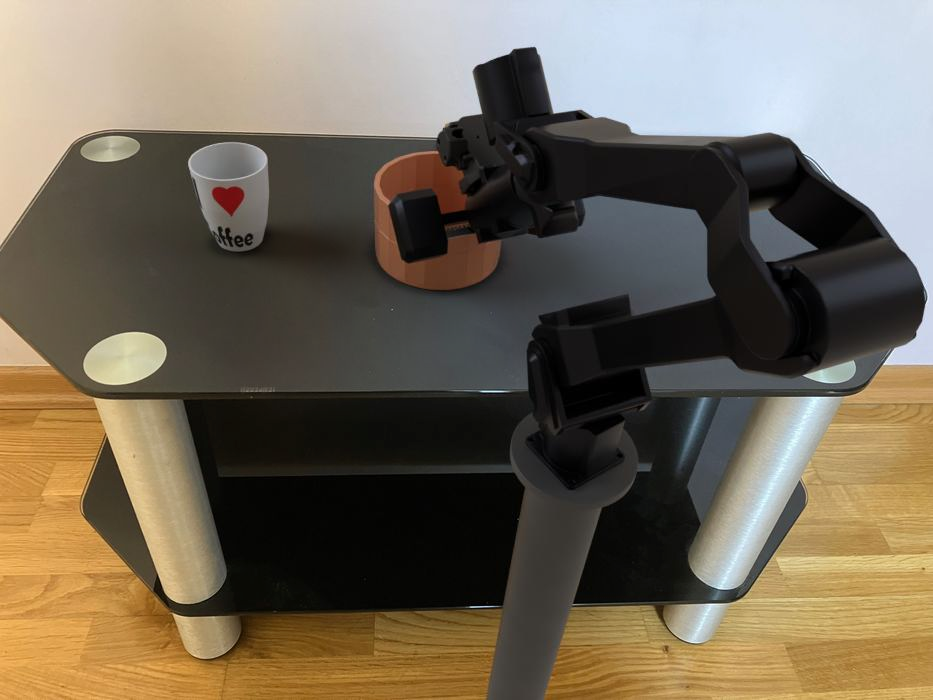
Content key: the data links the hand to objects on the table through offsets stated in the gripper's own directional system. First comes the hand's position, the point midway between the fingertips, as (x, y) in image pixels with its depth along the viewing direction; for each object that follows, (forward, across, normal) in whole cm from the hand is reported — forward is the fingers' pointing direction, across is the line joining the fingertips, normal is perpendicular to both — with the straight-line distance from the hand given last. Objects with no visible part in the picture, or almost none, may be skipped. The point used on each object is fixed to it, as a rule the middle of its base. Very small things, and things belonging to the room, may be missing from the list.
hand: (461, 230), depth 82 cm
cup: (+16, +20, -6) cm, 27 cm away
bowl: (+9, 0, +1) cm, 9 cm away
